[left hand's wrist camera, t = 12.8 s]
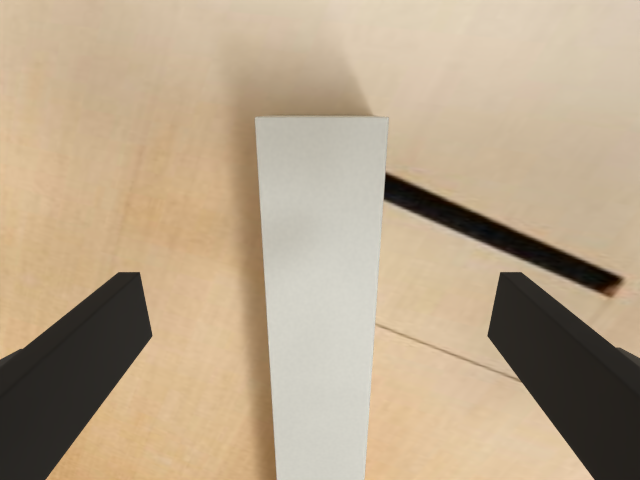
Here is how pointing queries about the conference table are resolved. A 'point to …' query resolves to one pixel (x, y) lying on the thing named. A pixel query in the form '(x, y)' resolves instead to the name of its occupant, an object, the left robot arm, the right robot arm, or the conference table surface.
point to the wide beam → (321, 285)
